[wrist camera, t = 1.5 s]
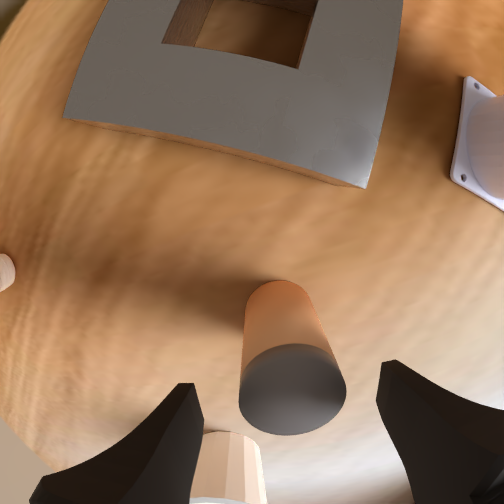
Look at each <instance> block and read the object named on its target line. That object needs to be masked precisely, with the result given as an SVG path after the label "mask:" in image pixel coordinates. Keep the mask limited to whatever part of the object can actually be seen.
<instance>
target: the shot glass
mask: <svg viewBox="0 0 504 504" xmlns="http://www.w3.org/2000/svg"><path fill="white" fill-rule="evenodd" d="M189 504H267V499H266V492H265V485H264V478H263V471H262V464H261V456H260V449H259V447H258V446H257V444H256V443H255V442H254V441H253V440H251V439H250V438H248V437H246V436H244V435H241V434H237V433H233V432H220V431H216V432H211V433H207V434H204V435H203V438H202V444H201V449H200V453H199V457H198V462H197V466H196V470H195V474H194V478H193V483H192V487H191V493H190V502H189Z"/></svg>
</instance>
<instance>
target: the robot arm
mask: <svg viewBox="0 0 504 504" xmlns="http://www.w3.org/2000/svg"><path fill="white" fill-rule="evenodd" d="M474 85H475V86H474ZM475 87H476V88H475ZM461 175H463V180H461ZM450 177H451V179H452V181H453V182H455V183H457V184H459V185H460V186H462V187H464V188H466V189H467V190H469V191H471V192H473V193H474V194H476V195H478V196H479V197H481V198H483V199H484V200H486V201H488V202H489V203H491V204H492V205H494V206H496V207H497V208H499V209H500V210H502V211H503V212H504V95H500V96H496V95H495V94H493V93H492V92H491V91H490V90H488V89H487V88H486V87H484V86H483V85H482V84H480V83H479V82H478V81H476V80H475V79H474V78H472V77H470V76H467V77H465V78H464V85H463V96H462V105H461V113H460V120H459V127H458V134H457V140H456V145H455V151H454V156H453V161H452V166H451V170H450ZM376 403H377V406H378V409H379V412H380V415H381V418H382V421H383V423H384V425H385V427H386V429H387V431H388V433H389V436H390V438H391V440H392V442H393V444H394V446H395V448H396V450H397V452H398V454H399V456H400V458H401V460H402V462H403V465H404V467H405V470H406V473H407V476H408V479H409V483H410V486H411V490H412V494H413V497H414V501H415V504H504V410H500V409H496V408H492V407H488V406H484V405H481V404H478V403H475V402H472V401H470V400H467V399H465V398H462V397H460V396H458V395H456V394H454V393H452V392H450V391H448V390H446V389H444V388H442V387H440V386H438V385H436V384H435V383H433V382H431V381H430V380H428V379H426V378H425V377H423V376H421V375H420V374H418V373H417V372H415V371H414V370H412V369H410V368H409V367H407V366H406V365H404V364H403V363H401V362H399V361H397V360H391V361H387V362H382V365H381V372H380V378H379V385H378V391H377V397H376ZM203 427H204V418H203V414H202V411H201V407H200V404H199V400H198V396H197V393H196V389H195V385H194V383H178V384H177V386H176V387H175V388H174V389H173V390H172V391H171V392H170V393H169V394H168V395H167V397H166V398H165V399H164V400H163V401H162V402H161V403H160V404H159V405H158V407H157V408H156V409H155V410H154V411H153V412H152V413H151V414H150V415H149V416H148V417H147V418H146V419H145V420H144V421H143V422H142V423H141V424H140V425H138V426H137V427H136V428H135V429H134V430H133V431H132V432H131V433H129V434H128V435H127V436H126V437H124V438H123V439H122V440H120V441H119V442H117V443H116V444H115V445H113V446H112V447H110V448H109V449H107V450H105V451H103V452H102V453H100V454H98V455H97V456H95V457H93V458H91V459H89V460H87V461H85V462H83V463H81V464H78V465H76V466H74V467H71V468H69V469H66V470H63V471H60V472H57V473H53V474H50V475H46V476H43V477H42V479H41V480H40V482H39V484H38V485H37V487H36V489H35V491H34V492H33V494H32V496H31V498H30V499H29V503H30V504H189V502H190V493H191V487H192V483H193V478H194V474H195V470H196V466H197V462H198V457H199V453H200V449H201V444H202V438H203Z"/></svg>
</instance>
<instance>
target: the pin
mask: <svg viewBox="0 0 504 504" xmlns="http://www.w3.org/2000/svg"><path fill="white" fill-rule="evenodd" d="M345 399H346V384H345V381H344V379H343V376H342V374H341V372H340V369H339V367H338V364H337V362H336V359H335V357H334V354H333V352H332V350H331V347H330V345H329V342H328V340H327V338H326V335H325V333H324V331H323V328H322V326H321V324H320V321H319V319H318V317H317V314H316V312H315V310H314V307H313V305H312V303H311V300H310V298H309V296H308V294H307V293H306V292H305V291H304V290H303V289H302V288H301V287H300V286H298V285H296V284H294V283H292V282H288V281H272V282H268V283H266V284H263V285H262V286H260V287H258V288H257V289H256V290H255V291H254V292H253V293H252V294H251V296H250V297H249V299H248V301H247V304H246V309H245V323H244V336H243V349H242V362H241V376H240V389H239V408H240V411H241V413H242V415H243V417H244V418H245V419H246V421H248V422H249V423H250V424H251V425H252V426H254V427H255V428H257V429H259V430H261V431H263V432H266V433H270V434H275V435H298V434H303V433H307V432H310V431H313V430H315V429H317V428H320V427H321V426H323V425H325V424H326V423H328V422H329V421H330V420H332V419H333V418H334V417H335V416H336V415H337V413H338V412H339V411H340V409H341V408H342V406H343V404H344V402H345Z"/></svg>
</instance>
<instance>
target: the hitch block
mask: <svg viewBox="0 0 504 504" xmlns="http://www.w3.org/2000/svg"><path fill="white" fill-rule="evenodd" d="M243 1H249V2H254V3H259V4H264V5H269V6H274V7H278V8H282V9H286V10H290V11H294V12H298V13H301V14H305V15H308V16H311V19H310V22H309V25H308V29H307V32H306V35H305V39H304V42H303V46H302V49H301V52H300V56H299V59H298V62H297V66H296V69H295V68H292V67H288V66H284V65H281V64H277V63H273V62H269V61H265V60H261V59H257V58H252V57H248V56H243V55H238V54H233V53H228V52H222V51H217V50H211V49H204V48H197V47H194V45H195V43H196V40H197V38H198V35H199V33H200V30H201V28H202V25H203V23H204V21H205V18H206V16H207V14H208V11H209V9H210V7H211V5H212V2H213V0H109V1H108V3H107V5H106V7H105V9H104V11H103V13H102V15H101V17H100V19H99V21H98V23H97V25H96V27H95V29H94V31H93V34H92V36H91V38H90V40H89V43H88V45H87V47H86V50H85V52H84V55H83V57H82V60H81V62H80V65H79V68H78V70H77V73H76V76H75V79H74V82H73V85H72V87H71V91H70V94H69V97H68V100H67V103H66V107H65V110H64V114H63V117H62V118H66V119H69V120H73V121H77V122H81V123H85V124H89V125H92V126H96V127H99V128H103V129H109V130H115V131H121V132H127V133H133V134H139V135H144V136H150V137H155V138H160V139H165V140H170V141H175V142H180V143H184V144H189V145H194V146H198V147H202V148H207V149H211V150H215V151H219V152H223V153H227V154H231V155H235V156H239V157H243V158H247V159H250V160H254V161H258V162H261V163H265V164H269V165H272V166H276V167H279V168H282V169H286V170H289V171H292V172H296V173H299V174H302V175H305V176H309V177H312V178H315V179H318V180H321V181H324V182H327V183H330V184H333V185H336V186H343V187H353V188H362V189H366V186H367V183H368V179H369V176H370V172H371V168H372V165H373V161H374V157H375V153H376V149H377V145H378V141H379V137H380V133H381V128H382V124H383V120H384V115H385V111H386V106H387V101H388V96H389V91H390V86H391V81H392V76H393V70H394V64H395V58H396V52H397V46H398V39H399V32H400V24H401V16H402V7H403V0H243Z"/></svg>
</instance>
